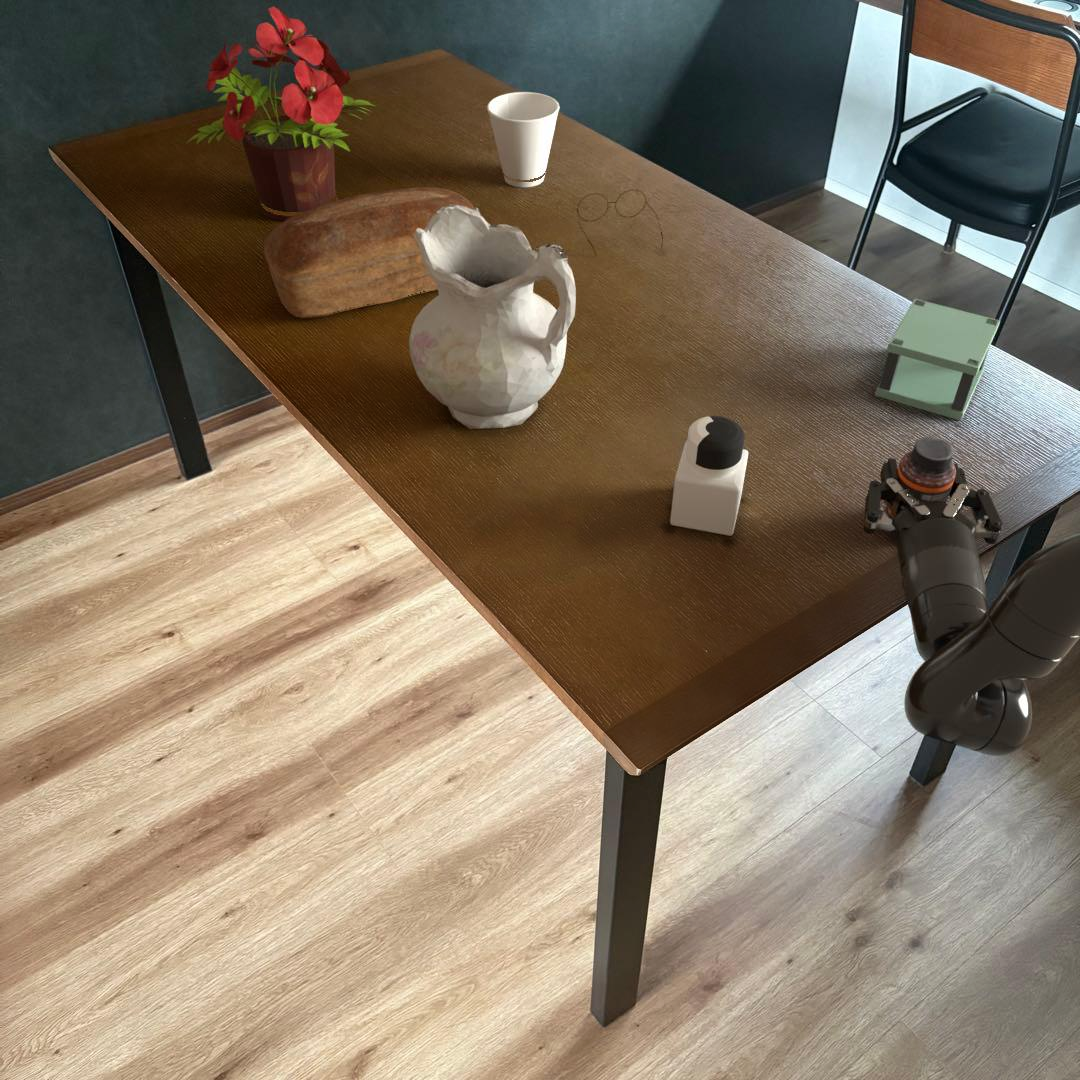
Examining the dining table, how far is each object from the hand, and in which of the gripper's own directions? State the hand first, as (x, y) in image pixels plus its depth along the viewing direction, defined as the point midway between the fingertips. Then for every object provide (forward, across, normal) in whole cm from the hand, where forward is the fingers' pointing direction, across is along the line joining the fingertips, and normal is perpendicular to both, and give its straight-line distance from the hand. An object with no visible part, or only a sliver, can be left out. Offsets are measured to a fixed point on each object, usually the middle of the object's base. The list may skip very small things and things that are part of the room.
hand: (920, 467), depth 119 cm
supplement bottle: (-2, 0, +7) cm, 7 cm away
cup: (+78, +55, +7) cm, 96 cm away
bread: (+40, +71, +7) cm, 82 cm away
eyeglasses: (+60, +37, +7) cm, 71 cm away
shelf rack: (+25, -6, +6) cm, 27 cm away
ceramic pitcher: (+14, +49, +7) cm, 52 cm away
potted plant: (+67, +90, +7) cm, 112 cm away
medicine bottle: (-3, +23, +7) cm, 24 cm away
